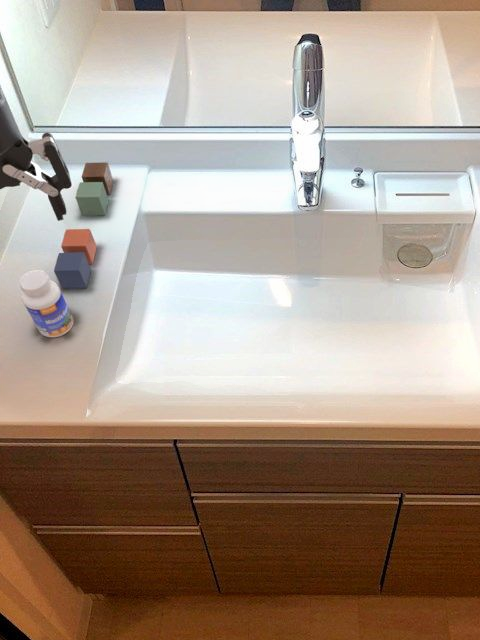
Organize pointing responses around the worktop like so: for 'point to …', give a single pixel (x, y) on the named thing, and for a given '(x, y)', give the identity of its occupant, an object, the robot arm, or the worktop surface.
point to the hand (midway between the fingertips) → (25, 224)
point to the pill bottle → (45, 304)
